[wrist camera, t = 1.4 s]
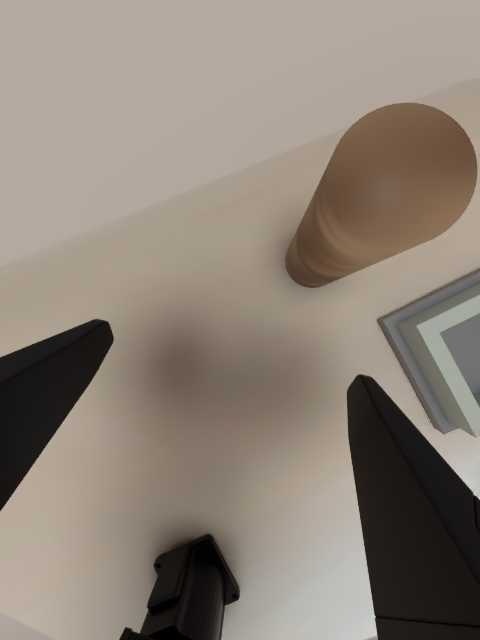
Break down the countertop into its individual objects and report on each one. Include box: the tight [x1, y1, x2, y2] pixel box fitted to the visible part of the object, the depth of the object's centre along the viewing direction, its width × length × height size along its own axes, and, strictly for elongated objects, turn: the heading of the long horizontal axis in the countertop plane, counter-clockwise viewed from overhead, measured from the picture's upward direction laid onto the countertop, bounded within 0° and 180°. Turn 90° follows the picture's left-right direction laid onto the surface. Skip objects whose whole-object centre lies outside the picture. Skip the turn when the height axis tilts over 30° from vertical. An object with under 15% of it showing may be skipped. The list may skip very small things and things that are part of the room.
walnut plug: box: [286, 103, 477, 288], centre depth 15 cm, size 5×5×13 cm
